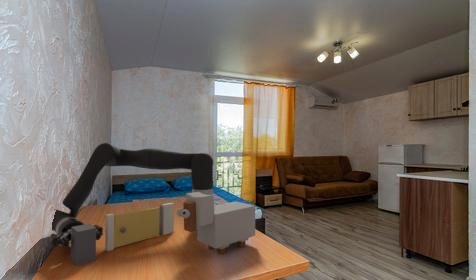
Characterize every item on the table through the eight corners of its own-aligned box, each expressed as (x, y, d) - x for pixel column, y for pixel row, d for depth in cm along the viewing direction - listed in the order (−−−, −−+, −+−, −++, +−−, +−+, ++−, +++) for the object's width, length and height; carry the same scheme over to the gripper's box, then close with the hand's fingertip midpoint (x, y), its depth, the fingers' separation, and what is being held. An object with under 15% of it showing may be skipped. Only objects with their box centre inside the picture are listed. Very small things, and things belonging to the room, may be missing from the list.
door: (157, 234, 98) (158, 207, 99) (161, 236, 96) (161, 208, 96) (113, 246, 86) (114, 215, 86) (117, 249, 84) (117, 216, 84)
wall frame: (171, 231, 103) (171, 202, 104) (173, 232, 102) (174, 203, 102) (105, 249, 84) (105, 214, 84) (107, 251, 83) (108, 215, 83)
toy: (171, 257, 78) (171, 194, 78) (236, 237, 96) (235, 186, 97) (188, 270, 70) (188, 199, 70) (255, 244, 88) (255, 189, 89)
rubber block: (88, 253, 81) (89, 223, 81) (95, 260, 76) (96, 227, 76) (70, 258, 77) (71, 226, 77) (77, 265, 72) (77, 231, 73)
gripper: (45, 223, 83) (56, 234, 72) (92, 214, 93) (108, 223, 82) (45, 245, 82) (55, 260, 71) (92, 234, 93) (107, 245, 82)
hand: (83, 240), depth 77 cm, fingers open, 8 cm apart
